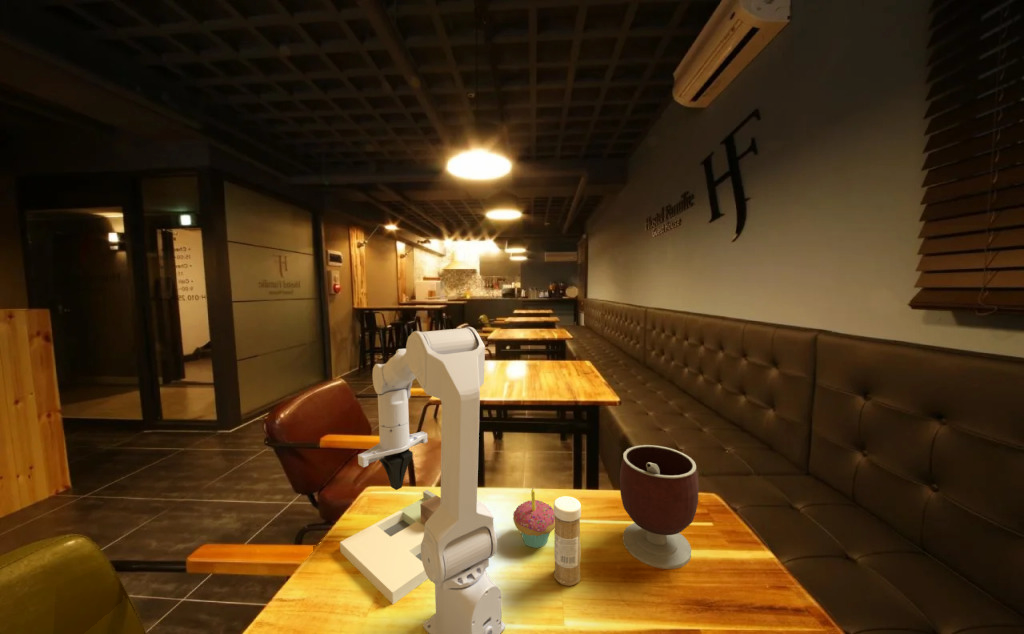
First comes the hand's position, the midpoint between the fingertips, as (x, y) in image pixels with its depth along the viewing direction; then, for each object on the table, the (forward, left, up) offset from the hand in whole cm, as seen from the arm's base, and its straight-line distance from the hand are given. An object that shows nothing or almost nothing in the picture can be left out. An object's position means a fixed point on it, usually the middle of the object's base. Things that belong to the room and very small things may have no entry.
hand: (396, 487), depth 76 cm
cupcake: (-23, -16, -10) cm, 30 cm away
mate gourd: (-42, -29, -10) cm, 52 cm away
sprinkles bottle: (-33, -12, -10) cm, 36 cm away
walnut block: (-6, -5, -7) cm, 11 cm away
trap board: (-6, +1, -9) cm, 11 cm away
